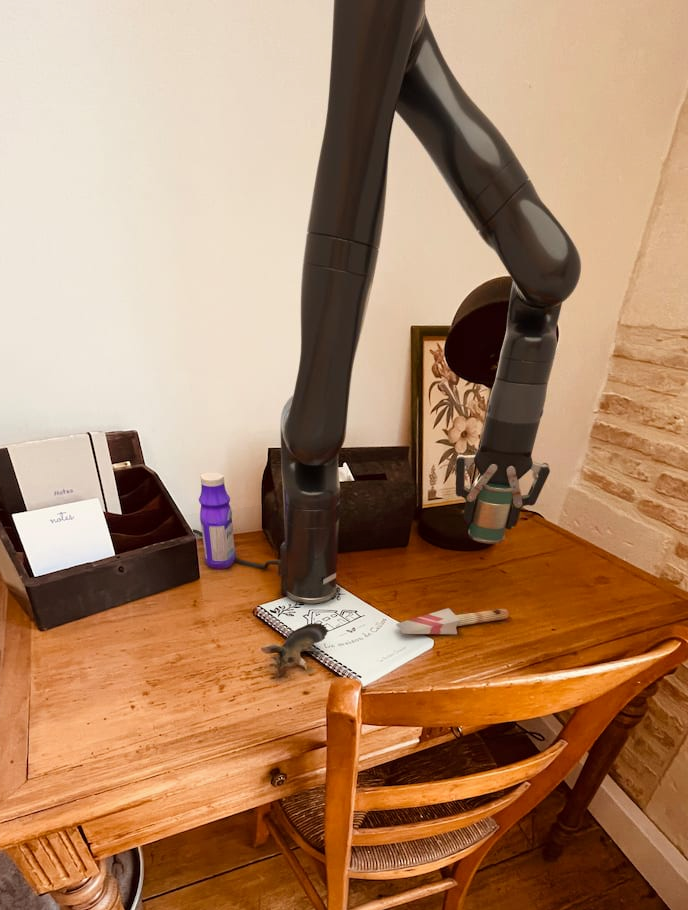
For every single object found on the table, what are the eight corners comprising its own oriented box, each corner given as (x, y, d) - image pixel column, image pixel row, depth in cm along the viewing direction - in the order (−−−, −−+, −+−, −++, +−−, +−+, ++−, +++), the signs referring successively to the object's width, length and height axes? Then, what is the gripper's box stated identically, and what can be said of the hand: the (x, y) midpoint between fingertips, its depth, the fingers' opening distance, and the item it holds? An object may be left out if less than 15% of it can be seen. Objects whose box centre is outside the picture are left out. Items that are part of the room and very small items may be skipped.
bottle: (232, 572, 100) (224, 482, 90) (202, 571, 100) (191, 481, 90) (238, 554, 106) (231, 469, 96) (210, 553, 106) (200, 468, 96)
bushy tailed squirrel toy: (312, 684, 73) (339, 641, 78) (283, 646, 70) (313, 604, 75) (276, 689, 78) (303, 648, 83) (247, 654, 75) (277, 614, 80)
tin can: (466, 540, 84) (478, 485, 79) (468, 526, 89) (479, 474, 83) (504, 546, 83) (518, 490, 78) (504, 531, 88) (517, 478, 82)
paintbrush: (395, 614, 84) (501, 601, 90) (393, 628, 86) (496, 615, 92) (405, 627, 81) (514, 613, 87) (403, 641, 83) (509, 627, 89)
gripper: (564, 413, 76) (533, 522, 86) (464, 404, 79) (445, 510, 89) (569, 425, 71) (535, 540, 80) (461, 415, 73) (441, 527, 83)
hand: (488, 524), depth 85 cm, fingers closed on tin can, 5 cm apart
